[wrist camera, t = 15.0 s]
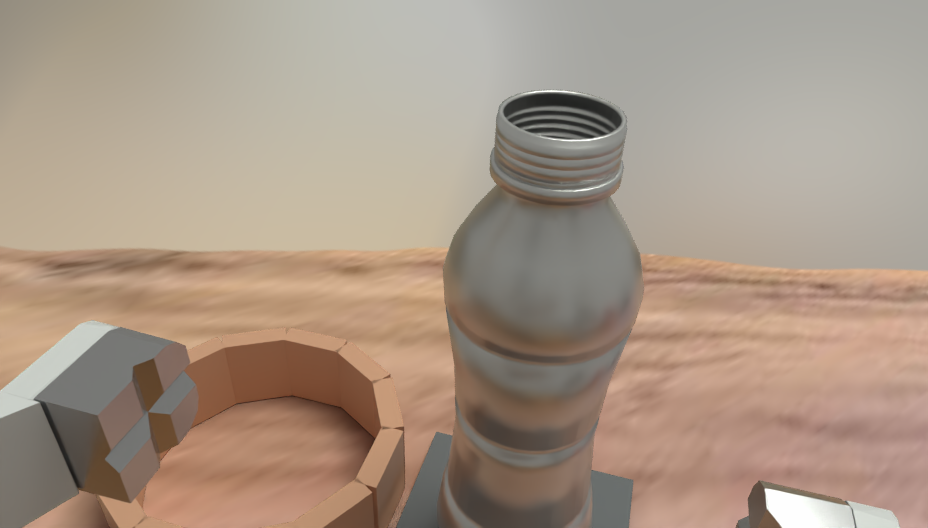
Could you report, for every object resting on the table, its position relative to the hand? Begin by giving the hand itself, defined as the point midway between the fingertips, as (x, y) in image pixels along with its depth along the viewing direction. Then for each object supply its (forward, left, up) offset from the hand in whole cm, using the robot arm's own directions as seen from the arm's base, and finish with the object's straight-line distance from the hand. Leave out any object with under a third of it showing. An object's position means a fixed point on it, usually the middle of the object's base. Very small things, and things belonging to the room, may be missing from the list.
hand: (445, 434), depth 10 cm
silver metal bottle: (0, +12, -20) cm, 23 cm away
